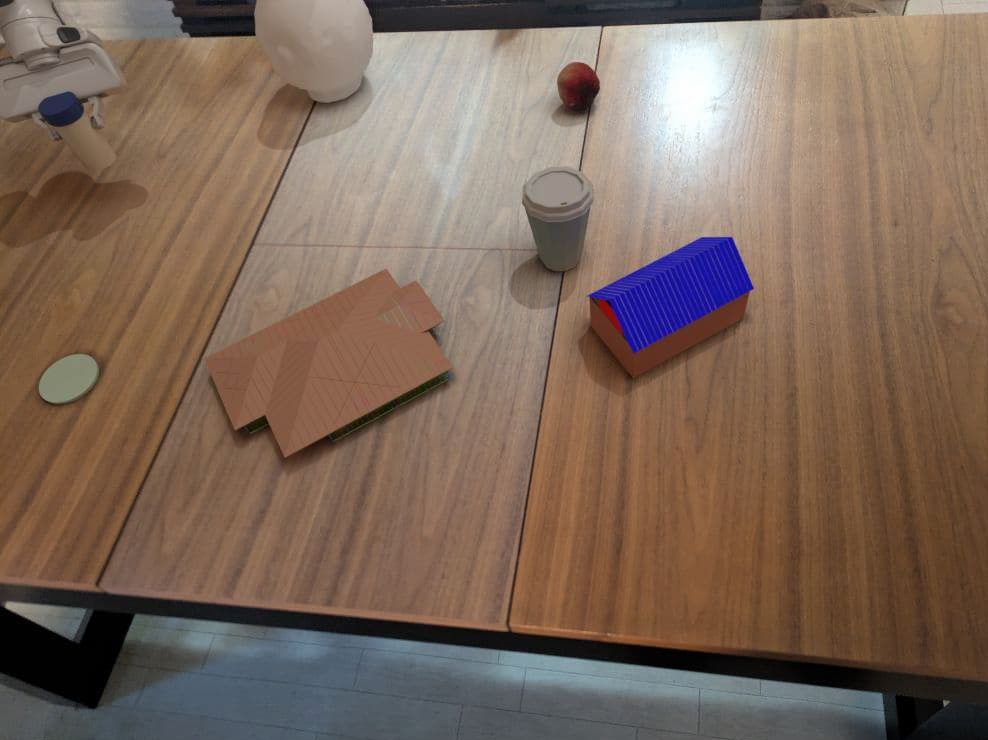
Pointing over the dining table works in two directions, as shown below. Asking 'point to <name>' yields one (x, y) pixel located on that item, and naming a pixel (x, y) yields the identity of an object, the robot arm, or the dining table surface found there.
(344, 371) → the brown flat stepped piece
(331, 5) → the vase
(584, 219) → the disposable coffee cup
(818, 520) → the dining table surface
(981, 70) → the dining table surface
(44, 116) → the lid
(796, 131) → the dining table surface
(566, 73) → the fruit
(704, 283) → the house
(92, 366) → the coaster
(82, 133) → the jar
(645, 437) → the dining table surface
